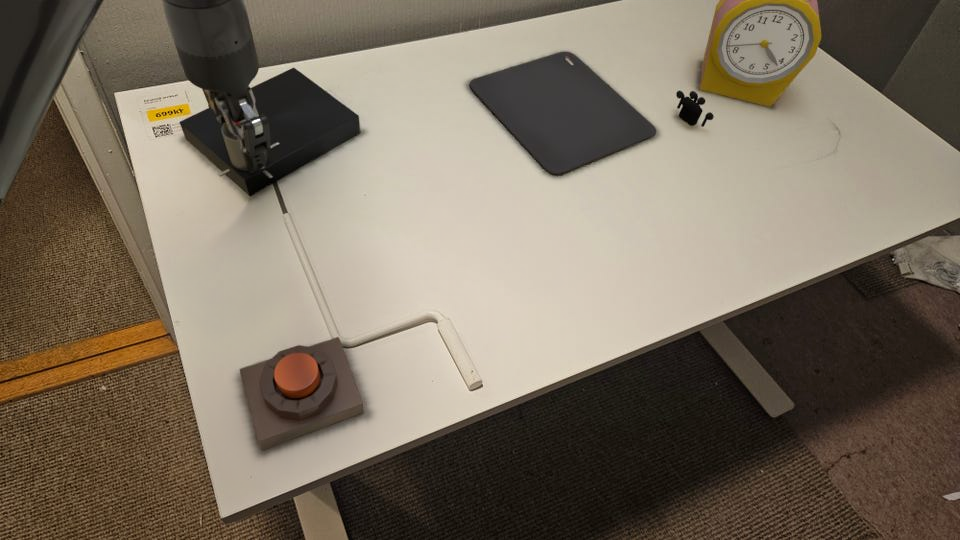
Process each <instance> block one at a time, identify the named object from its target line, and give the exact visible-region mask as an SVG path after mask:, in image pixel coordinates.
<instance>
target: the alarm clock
mask: <svg viewBox="0 0 960 540" xmlns="http://www.w3.org/2000/svg"><path fill="white" fill-rule="evenodd" d="M818 4H819V3H818V0H719V1H717V4H716V5H715V9H714V13H713V18H712V22H711V26H710V30H709V34H708V39H707V43H706V46H705V51H704V55H703V60H702V64H701V74H700V83H699V84H700V86H699V90H701V91H703V92H704V91H705V92H709V93H713V94H716V95H720V96H723V97H724V96H725V97H729V98H733V99H736V100H740V101H745V102H749V103H752V104H757V105H761V106H765V107H768V108H770V107H772V106H773V104H774V103H775V102H776V101H777V99H778V98H779V97H781V95H782V94H783V93H784V92H785V90H786V89H787V88H788V87H789V86H790V85H791V83H792V82H793V81H794V80H795V79H796V77H798V75H800V73H801V72H802V71H803V70H804V68H805V67H806V66H807V65H808V64H809V63H810V62H811V61H812V59H814V57H815V56H816V54H817V50H818V48H819V45H820V44H821V40H822V29H821V19H820V13H819V5H818Z"/></svg>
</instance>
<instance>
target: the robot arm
mask: <svg viewBox="0 0 960 540" xmlns="http://www.w3.org/2000/svg"><path fill="white" fill-rule="evenodd" d="M104 1H105V0H0V209H1V208H2V206H3V204H4V202H5V198H8V194H9V192H10V190H11V188H12V186H13V184H14V182H15V179H16V178H17V176H18V173H19V171H20V169H21V167H22V165H23V163H24V161H25V159H26V157H27V155H28V153H29V151H30V149H31V147H32V144H33V142H34V141H35V138H36V137H37V134H38V132H39V131H40V128H41V126H42V123H43V121H44V119H45V117H46V115H47V113H48V111H49V109H50V107H51V106H52V105H51V104H52V102H53V101H54V98H55V97H56V94H57V92H58V91H59V88H60V86H61V84H62V82H63V80H64V78H65V76H66V73H67V72H68V70H69V68H70V66H71V64H72V62H73V60H74V58H75V56H76V54H77V52H78V50H79V48H80V46H81V44H82V42H83V40H84V38H85V36H86V34H87V32H88V31H89V28H90V27H91V25H92V23H93V21H94V19H95V17H96V16H97V14H98V12H99V10H100V8H101V6H102V5H103V3H104ZM161 2H162V7H163V12H164V15H165V20H166V22H167V25H168V28H169V31H170V34H171V37H172V40H173V43H174V46H175V49H176V52H177V55H178V57H179V61H180V64H181V66H182V70H183V73H184V76H185V77H186V79H187V80H188V82H190V83H191V84H192V85H194V86H195V87H197V88H199V89H201V90H202V92H203V95H204V98H205V100H206V102H207V106H208V108H210V109H211V110H212V111H214V113H215V114H216V119H217V121H219V123H220V124H221V125H222V126H223V124H224V123H225V122H226V124H227V126H228V129H229V131H230V132H231V133H232V134H233V135H235V136H236V137H237V139H238V142H239V144H240V149H241V150H242V153H243V156H244V160H245V163H246V167H247V169H248V170H249V172H250V173H255V172H258V171H260V170H263V169H265V168H266V166H267V164H266V160H265V156H264V152H266V151H268V150H271V145H270V130H269V120H268V118H267V117H266V116H265V115H264V114H263V115H261V116H259V115H258V112H257V109H256V106H255V97H254V94H253V92H252V89H251V88H252V87H251V86H250V84H251V83H252V82H253V80H254V79H255V78H256V76H257V75H258V73H259V69H260V63H259V59H258V53H257V49H256V44H255V40H254V37H253V36H254V35H253V31H252V27H251V23H250V19H249V14H248V10H247V6H246V3H245V1H244V0H161ZM242 120H246V121H245V122H242V123H240V124H237V125H234V122H240V121H242ZM222 123H223V124H222ZM243 134H244V137H243Z"/></svg>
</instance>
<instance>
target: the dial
mask: <svg viewBox="0 0 960 540" xmlns="http://www.w3.org/2000/svg"><path fill="white" fill-rule="evenodd" d="M245 121H246V120H242V121H240V122H234V125H237V124H240V123H242V122H245ZM221 130H222V134H223V137H224V141H225V144H226V147H227V150H228V154H229V157H230V160H231V163H232V165H233V166H234V167H235V168H236V169H238V170H241V171H249V170H248V169H247V167H246V163H245V160H244V156H243V153H242V150H241V149H240V144H239V142H238V139H237V137H236V136H235V135H233V134H232V133H231V132H230V131H229V129H228V126H227V124H226V122H225V123H224V124H223V126H222V129H221ZM243 137H244V134H243ZM264 156H265V160H266V163H267V161H268V154H267V151H266V152H264Z"/></svg>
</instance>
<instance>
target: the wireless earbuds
mask: <svg viewBox="0 0 960 540" xmlns="http://www.w3.org/2000/svg"><path fill="white" fill-rule="evenodd" d="M675 95H676V98H677V99H679V102H678V104H677V106H676V108H677V109H678V110H679V109H680V111H679V113H678V117H679V119H680V120H682V121H683V122H684V123H686V124H687V125H688V126H690V127H693V126H696V125H697V123H698V121H699V119H700V118H701V116H702V113H703V111H704V110H703V108H702V107H701V106H703V105H705V103H706V98H705V97H703V96H699V95H698V93H697V92H696V91H695V90H691V91H690V92H689V94H688V96H685V93H684V92H683V91H682V90H677V91H676V93H675ZM714 118H715V116H714V113H713V112H711V111H709V112H707V113H706V114H705V115H704V119H703V121H702V123H701V128H704V127H705V125H706V123H707V121H712V120H714Z"/></svg>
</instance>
